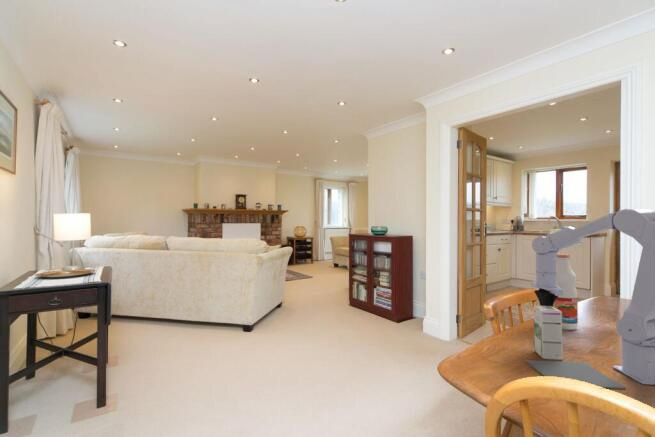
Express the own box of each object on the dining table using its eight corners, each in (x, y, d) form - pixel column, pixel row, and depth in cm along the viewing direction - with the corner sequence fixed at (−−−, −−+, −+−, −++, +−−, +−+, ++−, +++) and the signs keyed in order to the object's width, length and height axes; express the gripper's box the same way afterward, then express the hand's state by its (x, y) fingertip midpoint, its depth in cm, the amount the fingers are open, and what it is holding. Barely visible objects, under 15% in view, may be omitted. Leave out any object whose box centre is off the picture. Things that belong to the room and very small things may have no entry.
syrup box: (563, 360, 94) (563, 311, 94) (541, 358, 95) (541, 309, 95) (554, 352, 99) (553, 305, 99) (533, 351, 100) (532, 304, 100)
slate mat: (625, 389, 77) (625, 387, 77) (556, 386, 79) (556, 384, 79) (584, 363, 91) (584, 362, 91) (525, 361, 93) (525, 360, 93)
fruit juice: (561, 321, 129) (560, 253, 130) (584, 329, 120) (583, 255, 121) (541, 323, 128) (541, 253, 128) (563, 331, 118) (562, 256, 119)
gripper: (522, 268, 115) (522, 306, 115) (546, 275, 100) (546, 318, 100) (543, 268, 114) (543, 306, 114) (570, 275, 100) (570, 319, 100)
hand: (546, 312), depth 107 cm, fingers closed
